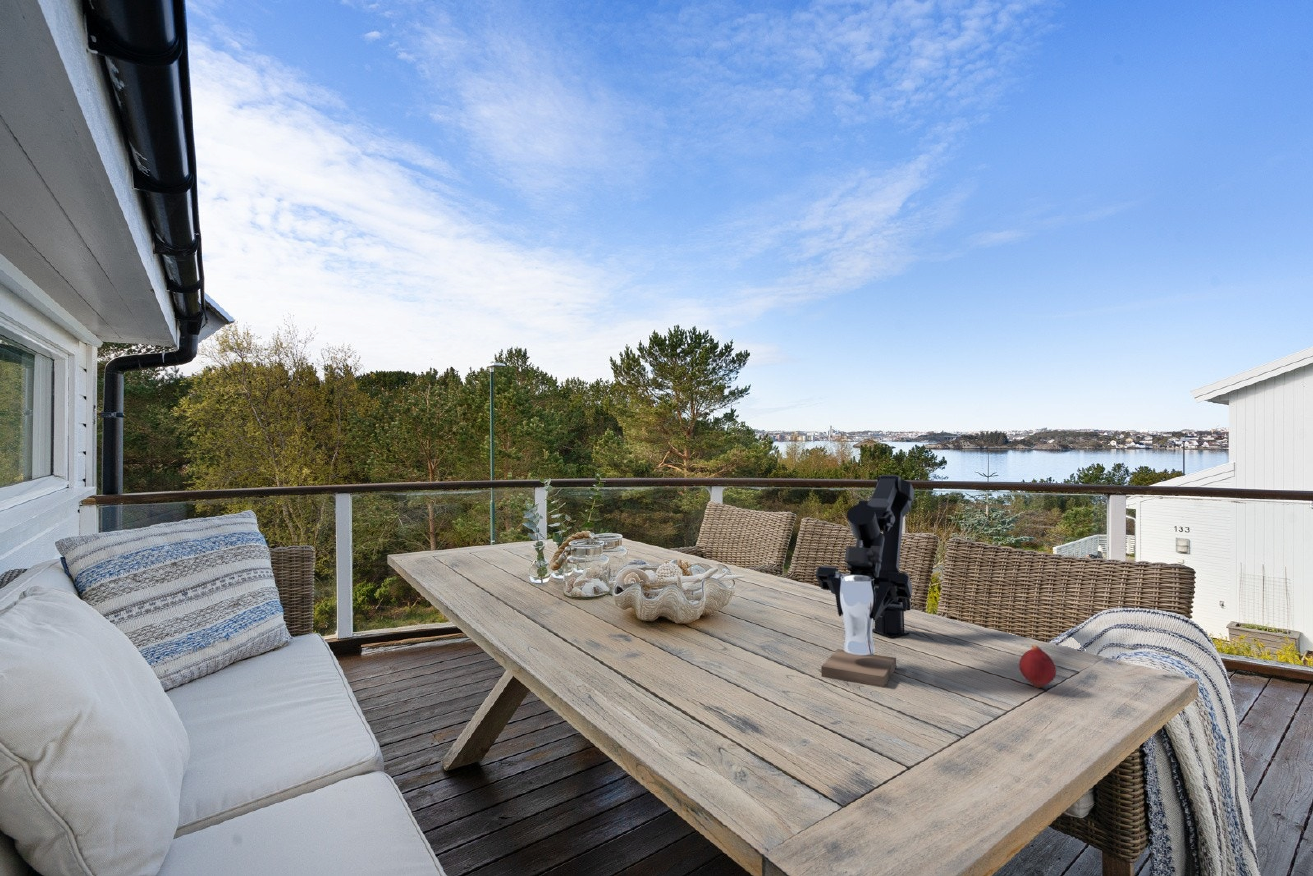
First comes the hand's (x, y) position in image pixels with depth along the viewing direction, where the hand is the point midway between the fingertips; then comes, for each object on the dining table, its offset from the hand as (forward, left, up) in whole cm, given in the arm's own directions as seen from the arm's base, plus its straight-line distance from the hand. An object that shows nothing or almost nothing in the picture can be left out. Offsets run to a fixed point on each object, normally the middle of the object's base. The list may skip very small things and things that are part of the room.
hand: (856, 617), depth 125 cm
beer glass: (-1, -1, -7) cm, 8 cm away
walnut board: (-1, -1, -11) cm, 11 cm away
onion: (-24, +21, -12) cm, 34 cm away
